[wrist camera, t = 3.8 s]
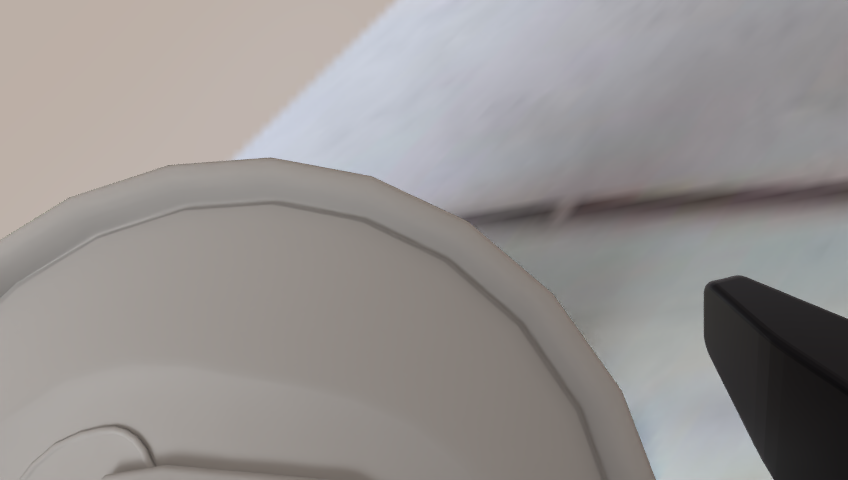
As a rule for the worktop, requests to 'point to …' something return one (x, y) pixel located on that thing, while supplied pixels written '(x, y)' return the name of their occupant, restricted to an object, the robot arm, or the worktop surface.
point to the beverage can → (289, 340)
